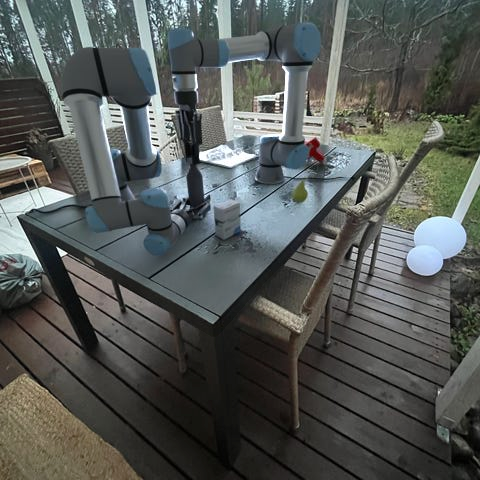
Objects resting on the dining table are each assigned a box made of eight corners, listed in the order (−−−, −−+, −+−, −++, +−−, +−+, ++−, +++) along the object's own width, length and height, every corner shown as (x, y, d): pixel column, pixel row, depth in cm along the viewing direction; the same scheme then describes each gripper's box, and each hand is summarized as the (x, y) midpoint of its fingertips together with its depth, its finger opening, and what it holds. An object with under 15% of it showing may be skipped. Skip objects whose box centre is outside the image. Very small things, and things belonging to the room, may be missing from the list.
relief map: (230, 168, 162) (230, 159, 159) (189, 158, 180) (188, 150, 177) (256, 157, 180) (256, 149, 177) (216, 149, 198) (215, 142, 195)
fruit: (288, 200, 123) (290, 174, 116) (302, 197, 125) (305, 172, 119) (296, 206, 118) (299, 179, 111) (310, 203, 120) (314, 177, 114)
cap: (200, 162, 99) (200, 156, 98) (191, 164, 97) (190, 159, 96) (194, 160, 102) (193, 154, 101) (185, 162, 99) (184, 156, 98)
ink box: (232, 226, 103) (231, 197, 97) (241, 231, 100) (241, 202, 94) (214, 235, 98) (212, 205, 92) (223, 240, 95) (222, 209, 89)
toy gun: (328, 157, 168) (316, 136, 164) (328, 158, 165) (315, 137, 161) (303, 172, 178) (290, 152, 174) (302, 174, 175) (289, 154, 171)
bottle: (207, 212, 113) (202, 156, 101) (203, 219, 108) (198, 161, 96) (193, 212, 114) (186, 156, 101) (189, 218, 109) (182, 161, 96)
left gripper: (153, 229, 97) (181, 202, 116) (203, 236, 93) (224, 207, 112) (149, 210, 93) (179, 186, 112) (201, 216, 89) (223, 190, 108)
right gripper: (162, 89, 90) (172, 159, 103) (189, 92, 79) (196, 170, 92) (182, 88, 94) (189, 156, 107) (210, 90, 83) (214, 166, 96)
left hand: (201, 196), depth 112 cm, fingers closed on bottle, 6 cm apart
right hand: (192, 162), depth 99 cm, fingers closed on cap, 4 cm apart
